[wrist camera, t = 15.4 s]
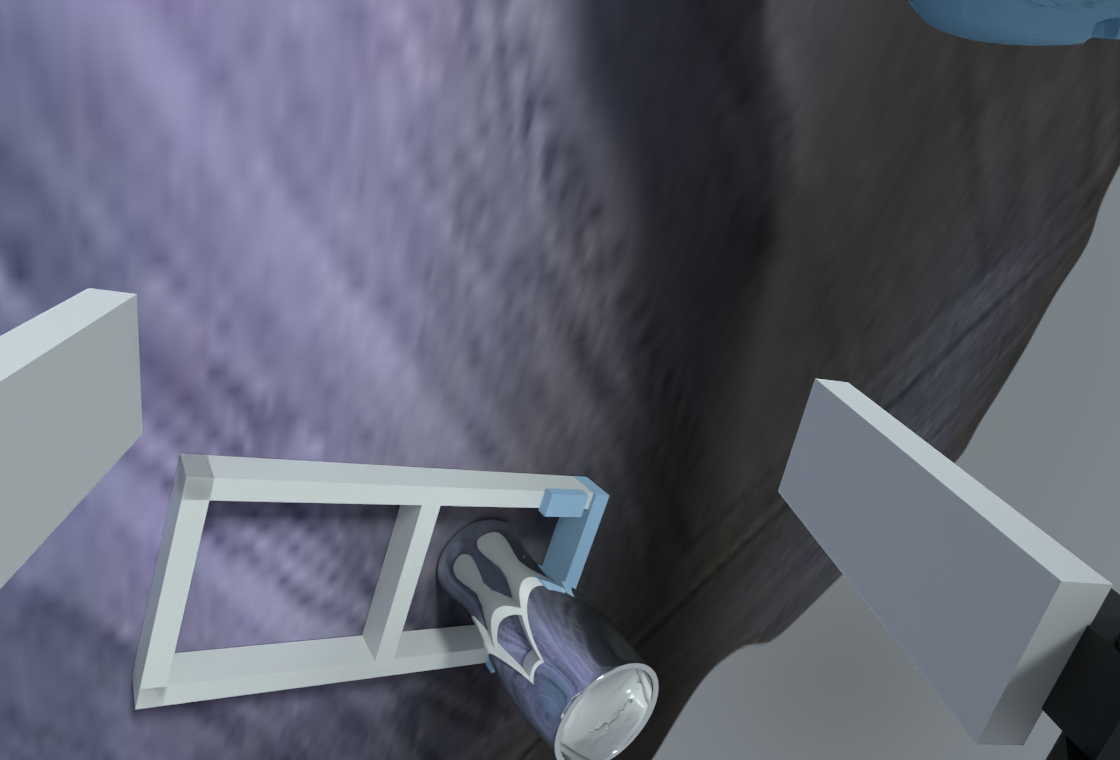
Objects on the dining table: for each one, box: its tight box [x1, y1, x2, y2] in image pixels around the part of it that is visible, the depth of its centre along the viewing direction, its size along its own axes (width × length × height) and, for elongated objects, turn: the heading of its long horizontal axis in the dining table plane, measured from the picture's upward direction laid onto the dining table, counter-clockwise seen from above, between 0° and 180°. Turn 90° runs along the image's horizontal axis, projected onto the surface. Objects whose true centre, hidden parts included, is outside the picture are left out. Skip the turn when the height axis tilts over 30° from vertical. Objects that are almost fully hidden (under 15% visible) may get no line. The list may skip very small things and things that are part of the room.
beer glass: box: [437, 519, 659, 760], centre depth 42 cm, size 7×7×15 cm
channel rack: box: [132, 454, 593, 710], centre depth 43 cm, size 26×13×2 cm, turn 69°
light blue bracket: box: [486, 476, 609, 673], centre depth 49 cm, size 5×13×3 cm, turn 159°
